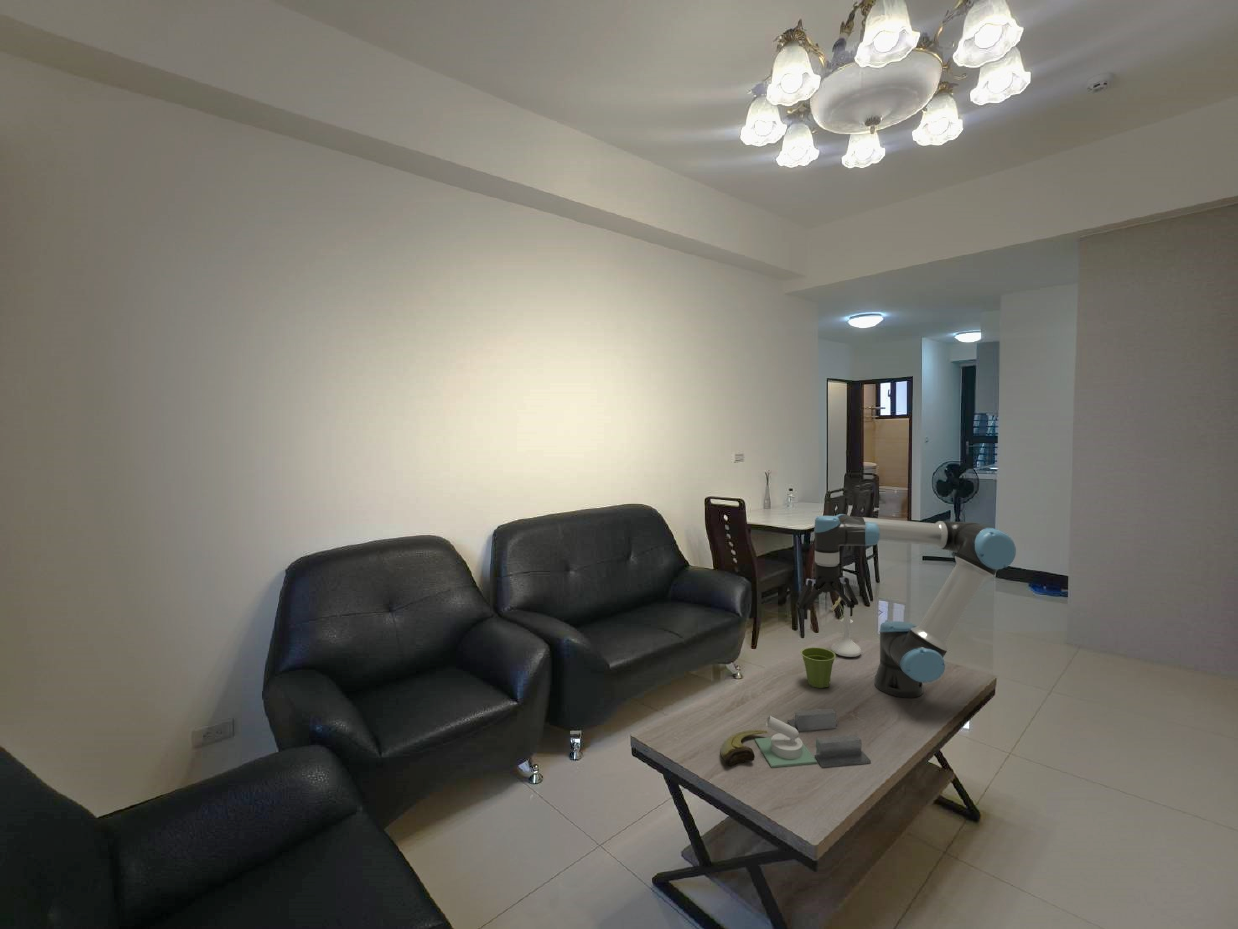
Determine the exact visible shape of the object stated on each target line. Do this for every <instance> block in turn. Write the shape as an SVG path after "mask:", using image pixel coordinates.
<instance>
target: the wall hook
mask: <svg viewBox="0 0 1238 929" xmlns="http://www.w3.org/2000/svg"><path fill="white" fill-rule="evenodd" d="M765 726H766V727H767V728H769V729H771V730H773V731H775V732H777V733H775V734H773V735H772V736H771V737H772V738H771V750H772V752H773V753H774V754H776V755H777V756H779V757H781V758H785V759H796V758H799V757H800V756H801V755H802V753H803V744H804V743H803V744H802V742H803V740H802V739H801V738H800V737H799V736H800V732H798V730H797V729H796V728H794V727H792V726H790V725H789V723H788V724H787V723H786V722H784V721H782V720H780V719H777V718H775V717H773V716H771V715H768V717H767V719H766V723H765ZM798 737H799V738H798Z"/></svg>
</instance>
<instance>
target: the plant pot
mask: <svg viewBox="0 0 1238 929" xmlns="http://www.w3.org/2000/svg"><path fill="white" fill-rule="evenodd" d="M800 654H801V656H802V660H803V662H804V667H805V673H806V679H807V683H808V684H809V685H810V686H811V687H814V688H817V689H824V688H828V687H829V686H830V684H831V683H830V682H831V676H832V670H833V664H834V660H835V659H836V657H837V655H836V653H834V652H833V651H832V649H831V650H830V649H828V648H825V647H816V646H814V647H813V646H812V647H811V646H810V647H806V648H803V649H801V651H800Z"/></svg>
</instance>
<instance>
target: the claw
mask: <svg viewBox="0 0 1238 929" xmlns="http://www.w3.org/2000/svg"><path fill="white" fill-rule="evenodd" d="M767 733H768V730H761V729H759V730H758V729H755V730H754V729H753V730H750V729H749V730H742V731H739V732H736V733H735V734H732V735H731V736H729V737H728V738H727V739H726V740H724V741H723V743H722V744H721V747H720V755H721V757H722V759H723V760H724V762H725V764H727V766H733V765H735V764H738V763H742V762H748V761H751V762H753V761H755V757H756V756H755V752H754V750H753V748H751V747H749V746H746V745H743V743H742V740H743V739H744V738H746V737H750V736H755V735H762V734H767Z"/></svg>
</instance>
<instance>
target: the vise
mask: <svg viewBox="0 0 1238 929" xmlns="http://www.w3.org/2000/svg"><path fill="white" fill-rule="evenodd" d="M836 717H837V714H836V711H835V710H833V708H823V709H813V710H812V709H811V710H797V711H794V719H787V723H788V725H790V726H792V727H794V728H796V729H797V730H798V732H799V733H800V732H810V731H822V730H824V731H825V730H833V729H836V727H838V723H837V721H836V720H837V718H836ZM815 746H816V748H815V750H816V754H814V758H815V760H816V761H817V764H819V766H820V767H821V768H822V769H825V768H835V767H846V766H855V765H864V764H865V765H868V764H871V763H872V760H871V759H870V758H869V757H868V756H867V754H866V753H865V752H864V751H863V750H862V739H861V737H859V736H858V735H857V734H851V735H840V736H839V735H838V736H830V737H828V736H827V737H816V738H815Z"/></svg>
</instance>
